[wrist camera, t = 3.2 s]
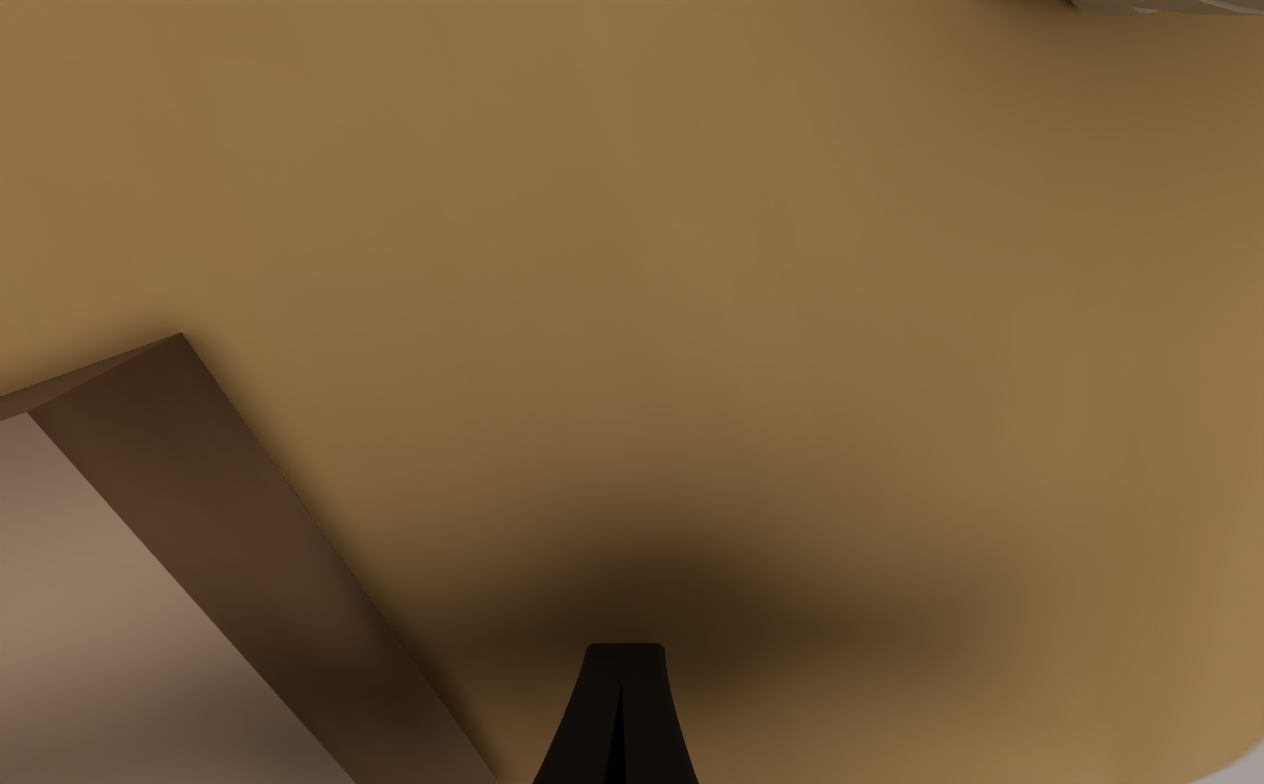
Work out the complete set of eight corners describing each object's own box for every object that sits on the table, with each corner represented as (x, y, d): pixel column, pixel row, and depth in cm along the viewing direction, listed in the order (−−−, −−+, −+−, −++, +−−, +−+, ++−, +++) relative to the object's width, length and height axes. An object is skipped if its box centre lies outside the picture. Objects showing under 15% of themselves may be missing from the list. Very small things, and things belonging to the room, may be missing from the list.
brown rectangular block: (500, 760, 15) (466, 908, 12) (262, 804, 16) (184, 947, 13) (197, 324, 10) (26, 412, 7) (-115, 436, 11) (-363, 547, 8)
